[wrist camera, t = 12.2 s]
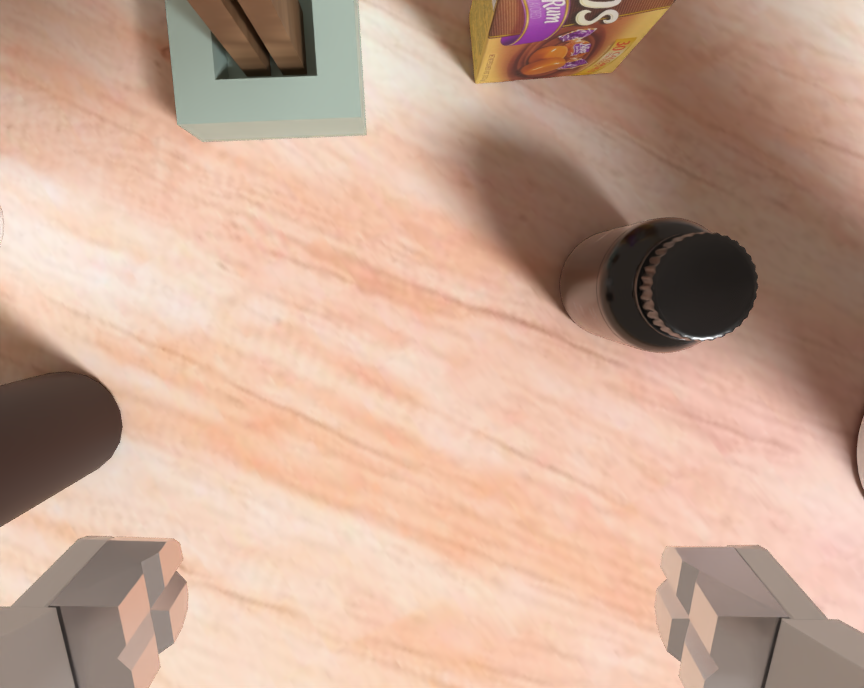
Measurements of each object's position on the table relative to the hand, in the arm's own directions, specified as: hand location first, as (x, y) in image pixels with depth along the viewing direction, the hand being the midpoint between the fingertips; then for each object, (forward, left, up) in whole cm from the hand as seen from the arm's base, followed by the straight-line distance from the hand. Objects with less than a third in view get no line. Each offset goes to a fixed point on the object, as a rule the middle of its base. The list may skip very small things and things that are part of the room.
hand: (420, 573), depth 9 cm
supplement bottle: (-13, -4, -27) cm, 30 cm away
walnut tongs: (+7, -19, -25) cm, 32 cm away
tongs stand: (+7, -19, -26) cm, 33 cm away
